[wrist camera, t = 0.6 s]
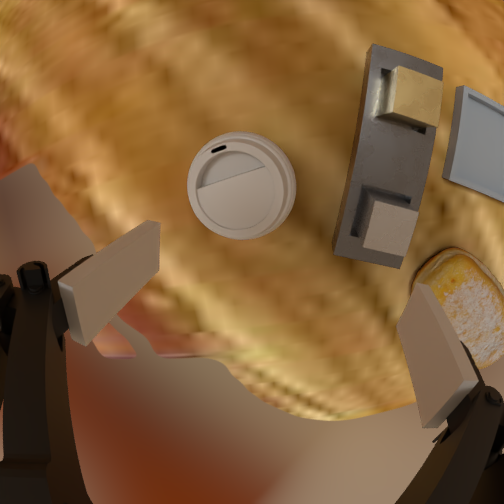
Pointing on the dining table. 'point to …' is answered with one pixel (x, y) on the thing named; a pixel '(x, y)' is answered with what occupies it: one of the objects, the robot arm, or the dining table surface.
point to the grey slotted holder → (383, 155)
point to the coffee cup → (241, 185)
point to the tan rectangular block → (410, 98)
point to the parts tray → (476, 144)
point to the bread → (468, 301)
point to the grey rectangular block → (384, 221)
